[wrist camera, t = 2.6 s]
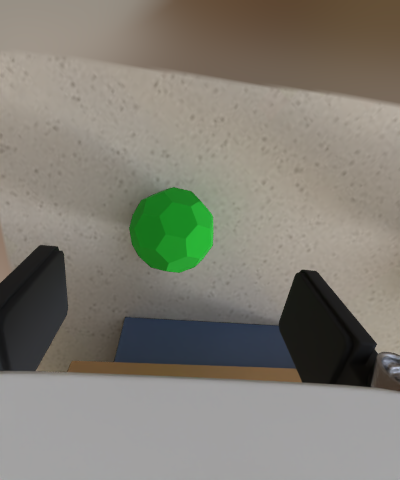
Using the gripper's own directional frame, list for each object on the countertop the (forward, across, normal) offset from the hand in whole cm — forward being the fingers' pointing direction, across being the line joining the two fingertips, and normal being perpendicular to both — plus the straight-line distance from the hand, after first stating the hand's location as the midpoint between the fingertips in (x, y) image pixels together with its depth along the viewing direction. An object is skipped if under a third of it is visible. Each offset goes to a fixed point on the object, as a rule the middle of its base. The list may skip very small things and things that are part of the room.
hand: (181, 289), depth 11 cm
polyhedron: (+8, +1, 0) cm, 9 cm away
